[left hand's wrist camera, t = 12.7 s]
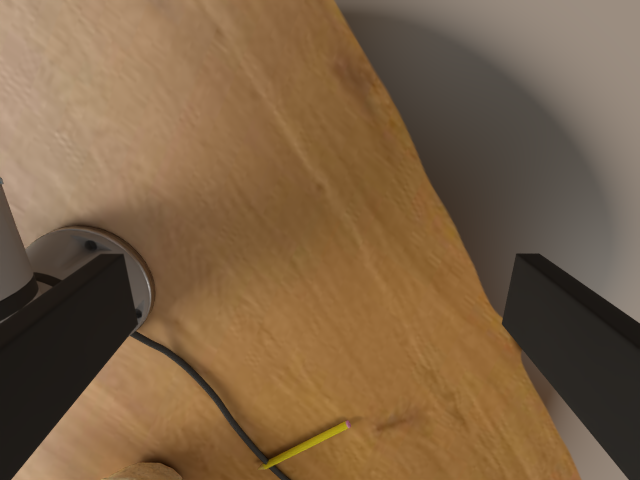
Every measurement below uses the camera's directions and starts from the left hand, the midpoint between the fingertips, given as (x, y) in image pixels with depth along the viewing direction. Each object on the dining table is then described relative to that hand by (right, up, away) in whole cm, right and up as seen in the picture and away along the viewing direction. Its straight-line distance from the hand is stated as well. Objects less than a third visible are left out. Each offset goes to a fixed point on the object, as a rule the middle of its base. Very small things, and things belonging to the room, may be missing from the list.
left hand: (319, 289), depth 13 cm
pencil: (-3, -29, +42) cm, 51 cm away
